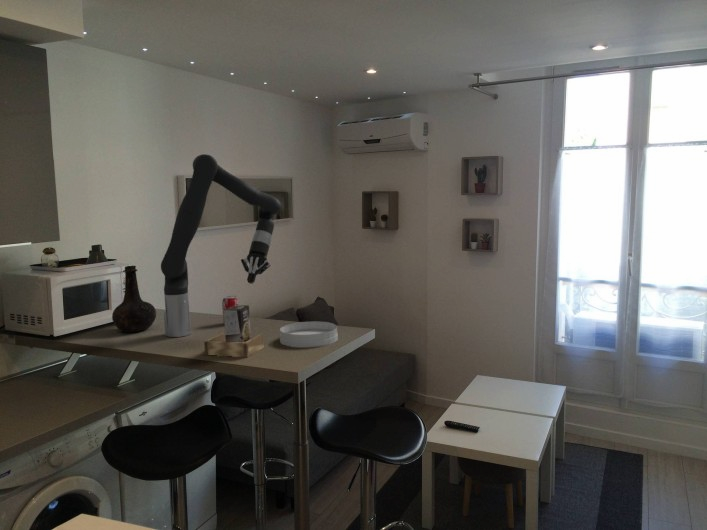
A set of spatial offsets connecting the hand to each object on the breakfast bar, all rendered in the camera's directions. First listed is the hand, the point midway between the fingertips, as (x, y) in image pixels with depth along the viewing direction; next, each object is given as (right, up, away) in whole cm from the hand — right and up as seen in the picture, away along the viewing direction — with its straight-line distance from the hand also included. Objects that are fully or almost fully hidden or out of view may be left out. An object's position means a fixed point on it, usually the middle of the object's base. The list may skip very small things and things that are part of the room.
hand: (250, 282), depth 225 cm
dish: (+25, -22, -12) cm, 35 cm away
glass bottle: (-52, -21, +15) cm, 59 cm away
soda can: (-12, -19, +21) cm, 31 cm away
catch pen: (-1, -24, -25) cm, 34 cm away
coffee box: (+1, -24, -26) cm, 35 cm away
